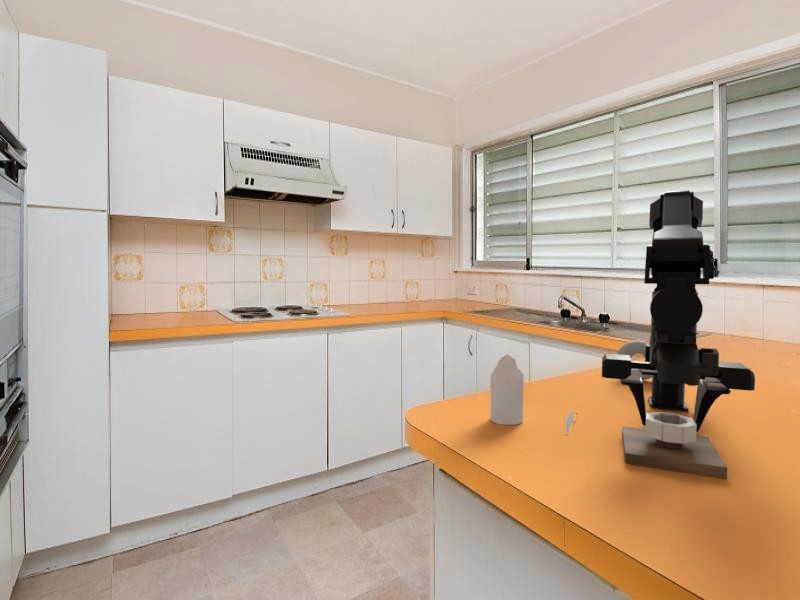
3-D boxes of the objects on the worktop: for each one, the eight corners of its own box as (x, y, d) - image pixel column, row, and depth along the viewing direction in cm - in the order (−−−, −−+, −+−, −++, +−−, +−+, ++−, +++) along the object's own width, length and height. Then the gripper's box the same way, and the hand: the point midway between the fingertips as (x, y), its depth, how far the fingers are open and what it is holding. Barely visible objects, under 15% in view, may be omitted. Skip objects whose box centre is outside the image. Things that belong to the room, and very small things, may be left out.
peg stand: (621, 435, 76) (623, 399, 75) (707, 446, 71) (709, 408, 71) (625, 463, 65) (626, 421, 64) (726, 478, 60) (729, 434, 60)
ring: (643, 425, 72) (643, 410, 72) (690, 430, 69) (691, 415, 69) (646, 439, 66) (647, 422, 66) (698, 445, 63) (699, 429, 63)
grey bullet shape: (497, 358, 79) (486, 352, 85) (496, 426, 80) (485, 416, 86) (529, 357, 80) (516, 351, 86) (528, 424, 81) (515, 414, 87)
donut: (614, 379, 114) (615, 339, 114) (616, 376, 117) (617, 337, 116) (660, 384, 109) (662, 342, 108) (661, 381, 112) (663, 340, 111)
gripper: (603, 326, 63) (600, 437, 64) (771, 334, 55) (764, 459, 57) (603, 318, 73) (600, 414, 74) (745, 323, 66) (740, 430, 67)
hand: (669, 428), depth 68 cm, fingers closed on ring, 6 cm apart
